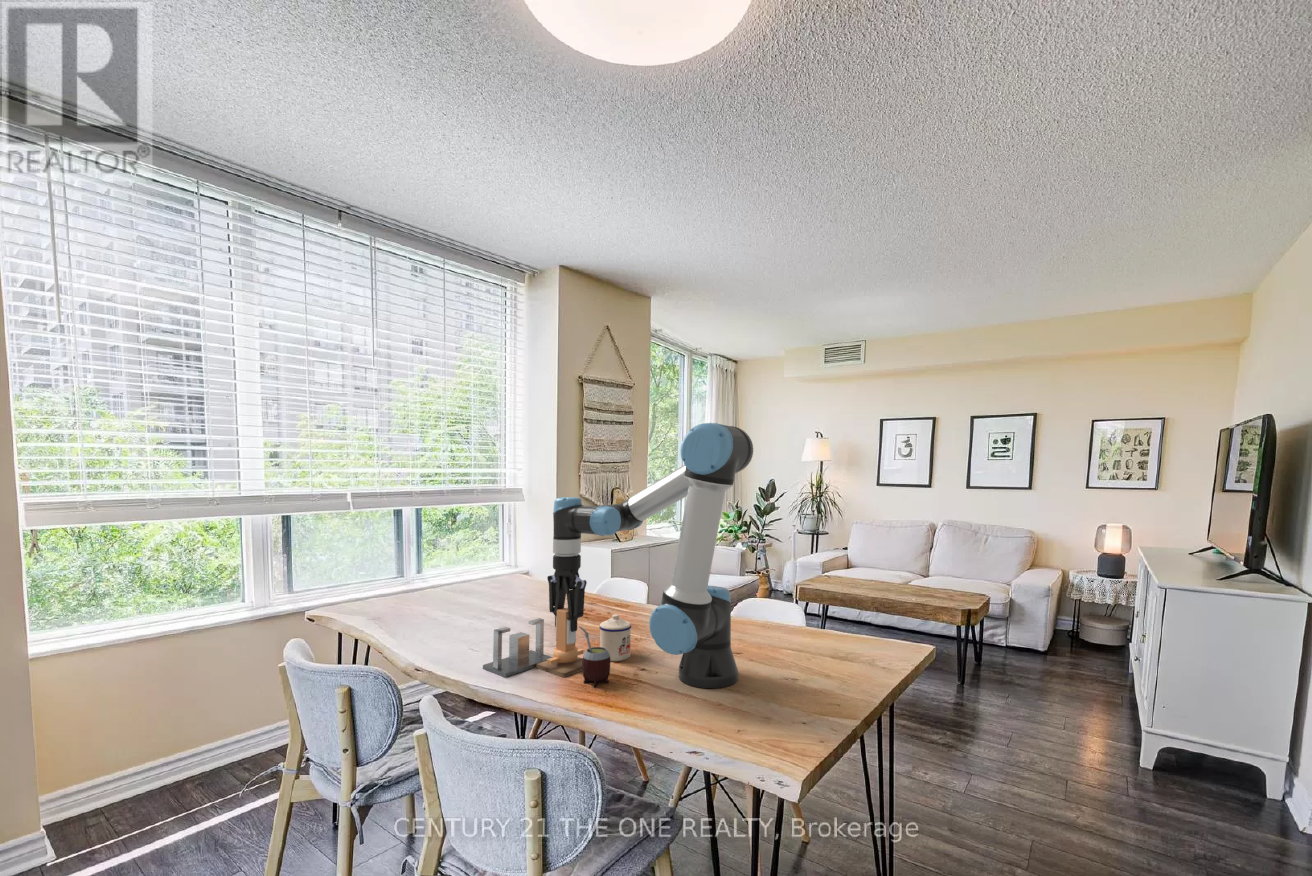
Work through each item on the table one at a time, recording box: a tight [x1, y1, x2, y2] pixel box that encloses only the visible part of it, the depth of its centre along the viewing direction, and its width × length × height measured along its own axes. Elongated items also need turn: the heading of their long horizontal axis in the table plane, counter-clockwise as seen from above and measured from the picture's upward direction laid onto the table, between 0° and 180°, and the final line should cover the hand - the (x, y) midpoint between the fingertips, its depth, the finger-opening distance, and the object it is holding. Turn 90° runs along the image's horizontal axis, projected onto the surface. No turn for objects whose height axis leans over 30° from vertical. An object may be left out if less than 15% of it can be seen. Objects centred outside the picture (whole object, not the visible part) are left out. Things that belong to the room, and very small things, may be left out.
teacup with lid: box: [599, 613, 632, 662], centre depth 160 cm, size 12×9×12 cm
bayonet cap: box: [547, 607, 584, 665], centre depth 151 cm, size 12×6×13 cm, turn 141°
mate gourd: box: [578, 626, 612, 688], centre depth 139 cm, size 8×8×15 cm
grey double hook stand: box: [482, 617, 554, 678], centre depth 152 cm, size 16×10×11 cm, turn 141°
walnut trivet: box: [535, 656, 583, 678], centre depth 150 cm, size 11×11×1 cm
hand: (565, 641), depth 150 cm, fingers closed on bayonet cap, 4 cm apart
